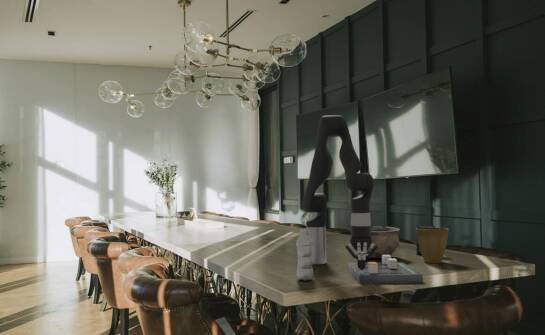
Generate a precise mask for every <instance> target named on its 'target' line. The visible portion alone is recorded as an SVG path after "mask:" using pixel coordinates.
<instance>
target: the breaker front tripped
mask: <svg viewBox="0 0 545 335" xmlns="http://www.w3.org/2000/svg"><path fill="white" fill-rule="evenodd" d="M367 263H368V272H369V273H370V274H373V273H378V264H377V263H378V262H376V261H367Z"/></svg>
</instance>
